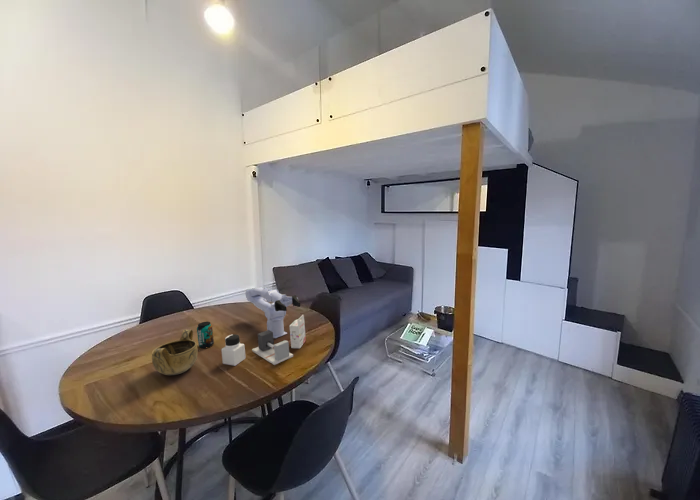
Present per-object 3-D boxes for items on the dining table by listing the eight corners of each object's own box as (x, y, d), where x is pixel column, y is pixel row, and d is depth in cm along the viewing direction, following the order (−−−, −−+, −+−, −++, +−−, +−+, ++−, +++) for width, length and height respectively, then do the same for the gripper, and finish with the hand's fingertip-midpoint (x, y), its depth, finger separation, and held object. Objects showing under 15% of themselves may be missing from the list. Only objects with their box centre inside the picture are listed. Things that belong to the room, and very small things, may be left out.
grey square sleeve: (258, 348, 139) (257, 333, 138) (269, 344, 143) (268, 330, 142) (262, 351, 136) (261, 336, 135) (274, 346, 140) (272, 332, 139)
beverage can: (216, 345, 147) (214, 323, 146) (201, 350, 142) (199, 327, 141) (210, 341, 152) (208, 320, 151) (196, 346, 147) (194, 324, 146)
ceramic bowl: (181, 386, 113) (177, 350, 111) (139, 387, 113) (134, 351, 111) (209, 357, 135) (206, 327, 133) (174, 358, 135) (170, 328, 133)
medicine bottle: (246, 358, 133) (243, 333, 131) (235, 366, 126) (232, 340, 125) (233, 356, 135) (231, 332, 134) (222, 363, 129) (219, 338, 127)
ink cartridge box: (297, 340, 150) (295, 313, 148) (306, 341, 149) (304, 313, 147) (290, 348, 141) (288, 319, 139) (299, 348, 140) (298, 320, 138)
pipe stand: (252, 351, 140) (250, 335, 139) (270, 343, 147) (269, 329, 146) (274, 365, 126) (273, 347, 125) (293, 356, 133) (292, 340, 132)
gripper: (266, 295, 146) (278, 303, 136) (291, 289, 155) (305, 295, 145) (267, 308, 147) (279, 316, 137) (292, 301, 156) (305, 308, 146)
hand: (292, 306), depth 141 cm, fingers open, 7 cm apart
